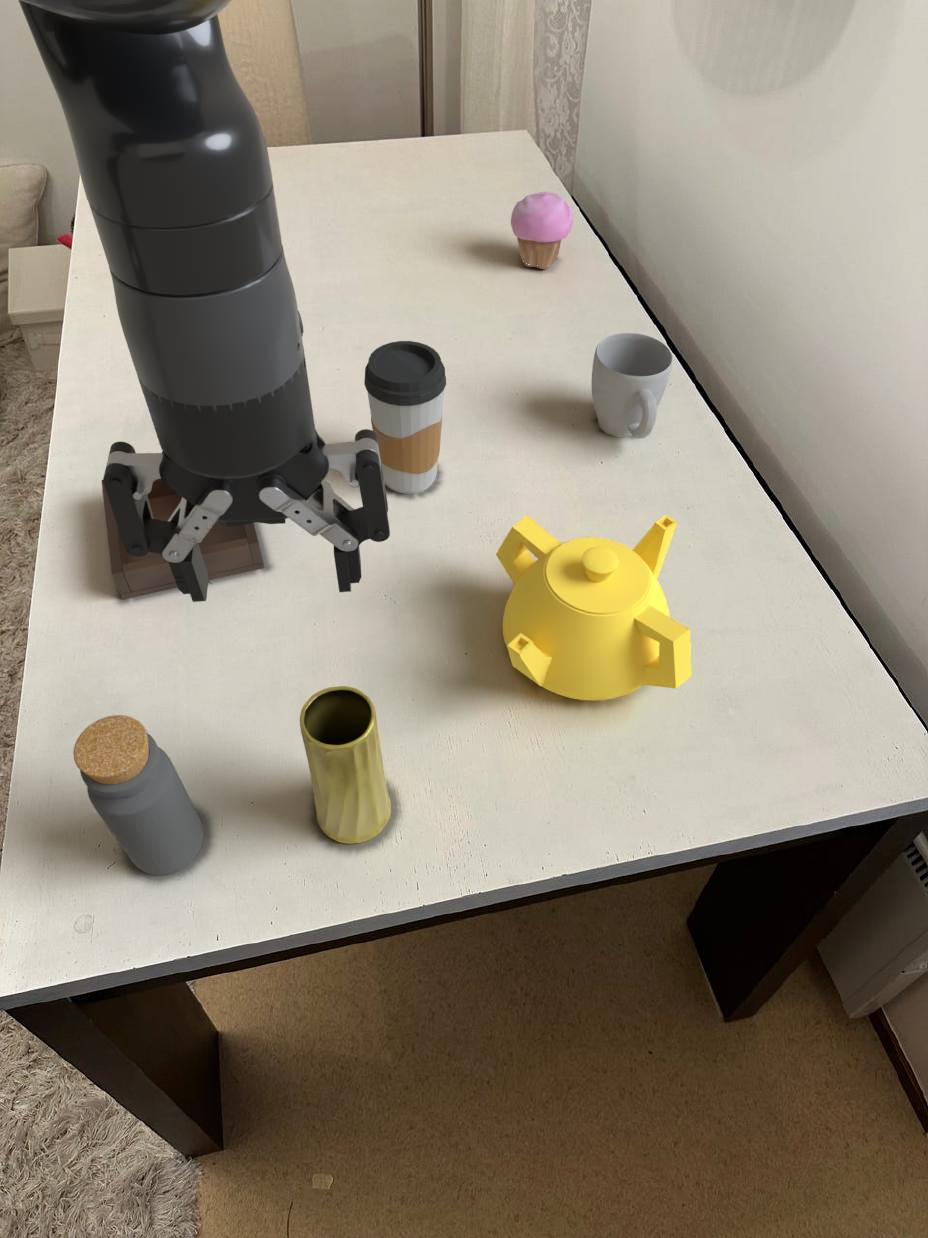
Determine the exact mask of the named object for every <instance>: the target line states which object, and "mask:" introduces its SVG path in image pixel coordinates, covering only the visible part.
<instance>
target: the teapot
mask: <svg viewBox="0 0 928 1238" xmlns="http://www.w3.org/2000/svg"><path fill="white" fill-rule="evenodd" d="M677 526H678V521H676V520H675V519H674V518H673V517H671V516H670V515H668V514H665V515H664V516H662V517H660V518H659V519H657V520H656V521H654V522H653V525H652V526H651V527H650V528H649V530H648V531H646V533H645V534H644V535H643V537H642V538H641V539H640V540H639V542H638V543H637V544H636V545H635V546H634V547H633V549H632V548H630V547H628V546H627V545H624V544H623V543H620V542H618V541H615V540H613V539H609V538H605V537H598V536H583V537H577V538H574V539H573V538H572V539H570V540H568V541H565V542H563V543H562V542H561V541H560V540H559V539H557V538H556V537H554V536H553V535H552V534H551V533H550V532H549V531H547V530H546V529H545V528H543V527H542V526H541V525H540V524H539V523H537V522H536V521H535V520H534V519H533V518H531V517H530V516H529V515H527V514H526V515H524V517H522V518H521V519H520V520H519V521H517V522H516V523H515V524H514V525H513V526H511V528H510V530H509V532H508V533H507V535H506V537H504V540H503V542H502V543H501V544H500V547H499V548H498V550H497V552H496V553H495V556H496V557H497V559H498V561H499V562H500V564H501V565H502V567H503V568H504V570H505V572H506V573H507V575H508V576H509V578H510V580H511V582H512V583H513V584H514V586H513V587H512V590H511V592H510V594H509V597H508V600H507V603H506V605H505V608H504V612H503V617H502V636H503V640H504V644H505V646H506V649H507V651H508V655H509V658H510V662H511V665H512V667H513V668H514V669H516V670H517V671H519V673H521V674H523V675H524V676H525V677H527V678H528V679H529V680H531V681H533V682H534V683H535V684H537V685H538V686H540V687H542V688H544V689H546V690H547V691H549V692H551V693H554V694H557V695H560V696H562V697H566V698H569V699H574V700H580V701H591V702H592V701H606V700H614V699H616V698H621V697H624V696H625V695H628V694H631V693H634V692H635V691H637V690H638V689H640V688H641V687H643V686H649V687H650V686H651V687H658V688H667V689H668V688H669V689H677V688H679V687H680V686H682V685H683V683H685V682H686V681H687V680H689V678H691V677H692V675H693V669H692V668H693V667H692V646H691V629H690V628H689V627H687V626H686V625H684V624H683V623H681V622H679V621H677V620H676V619H674V618H673V617H671V616H670V609H669V606H668V602H667V598H666V595H665V593H664V591H663V589H662V586H661V584H660V582H659V581H658V579H659V576H660V573H661V570H662V568H663V565H664V563H665V562H664V561H665V559H666V557H667V553H668V551H669V548H670V545H671V543H672V540H673V536H674V534H675V532H676V528H677ZM530 552H531V554H532V555H533V556H534V557H536V558H537V560H534V558H533V556H532V555H531V554H530Z"/></svg>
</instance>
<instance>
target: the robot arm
mask: <svg viewBox="0 0 928 1238" xmlns="http://www.w3.org/2000/svg"><path fill="white" fill-rule="evenodd" d="M231 2H232V0H18V3H19V5H20V8H21V11H22V13H23V15H24V18H25V20H26V23H27V25H28V28H29V30H30V33H31V36H32V38H33V41H34V42H35V45H36V48H37V50H38V53H39V55H40V58H41V60H42V63H43V65H44V68H45V69H46V72H47V75H48V77H49V79H50V82H51V83H52V86H53V88H54V90H55V93H56V95H57V98H58V100H59V102H60V105H61V109H62V111H63V115H64V118H65V121H66V124H67V128H68V131H69V133H70V134H69V135H70V138H71V141H72V146H73V150H74V153H75V157H76V161H77V162H76V163H77V167H78V170H79V175H80V179H81V183H82V187H83V190H84V193H85V197H86V201H87V203H88V205H89V209H90V211H91V215H92V217H93V220H94V221H93V222H94V224H95V227H96V230H97V233H98V236H99V239H100V243H101V246H102V249H103V252H104V255H105V258H106V261H107V265H108V269H109V272H110V276H111V280H112V285H113V291H114V298H115V299H114V300H115V306H116V309H117V314H118V319H119V322H120V326H121V330H122V333H123V336H124V339H125V343H126V345H127V348H128V351H129V354H130V358H131V361H132V363H133V366H134V370H135V373H136V376H137V379H138V382H139V385H140V388H141V391H142V394H143V397H144V400H145V402H146V406H147V410H148V412H149V416H150V418H151V422H152V425H153V428H154V431H155V434H156V437H157V440H158V444H159V446H160V448H161V452H136V450H135V447H134V446H133V445H132V444H130V443H128V442H126V441H116V442H114V443H112V444H111V446H110V449H109V453H108V457H107V461H106V465H105V470H104V473H103V478H102V480H103V483H104V486H105V489H106V492H107V495H108V498H109V501H110V504H111V507H112V510H113V513H114V516H115V519H116V522H117V526H118V529H119V532H120V535H121V538H122V541H123V544H124V547H125V550H126V551H127V553H129V554H130V555H132V556H136V557H141V556H145V555H146V554H147V553H148V552H153V553H158V554H160V555H162V556H163V558H164V559H165V560H167V561H168V563H169V565H170V568H171V571H172V574H173V576H174V579H175V582H176V584H177V589H178V591H180V592H181V594H183V595H190V599H191V601H192V603H198V602H206V601H207V597H208V596H207V595H208V588H209V580H208V573H207V570H206V566H205V563H204V560H203V557H202V554H201V551H200V548H199V545H198V543H200V542H201V541H202V540H203V538H204V537H205V536H206V534H207V533H208V532H209V530H210V529H211V528H212V526H213V525H214V524H215V522H216V521H220V522H225V523H226V525H227V527H233V526H243V525H247V524H251V523H254V524H255V523H258V524H265V525H279V524H281V525H283V524H286V520H288V519H289V520H290V521H292V522H294V523H295V524H296V525H298V526H299V527H300V528H301V529H303V530H304V531H305V532H307V533H308V534H310V535H311V536H313V537H317V536H321V537H322V538H323V539H325V540H326V541H328V542H329V543H330V544H332V545H333V556H334V557H333V558H334V566H335V571H336V572H335V573H336V579H337V584H338V585H337V586H338V592H339V593H351V592H352V584H359V583H360V581H361V578H362V560H361V550H360V545H361V544H362V543H363V542H365V541H369V540H371V541H372V542H374V543H375V542H376V543H382V542H385V541H387V540H388V539H389V538H390V536H391V534H390V533H391V531H390V530H391V529H390V523H389V516H388V513H389V504H388V496H387V490H386V484H385V483H384V476H383V470H382V463H381V457H380V450H379V443H378V437H377V434H376V433H375V432H374V431H373V430H372V429H368V428H365V429H364V428H363V429H360V430H359V431H357V432H356V434H355V435H354V440H353V441H346V442H336V443H326V441H325V440H324V439H323V438H322V437H321V436H320V434H319V433H318V432H317V429H316V425H315V424H316V423H315V417H314V411H313V403H312V398H311V390H310V384H309V376H308V369H307V362H306V361H307V360H306V357H305V356H306V354H305V348H304V342H303V336H304V335H303V334H304V325H303V320H302V316H301V313H300V311H299V309H298V308H299V307H298V301H297V295H296V291H295V286H294V283H293V280H292V276H291V273H290V270H289V265H288V262H287V259H286V255H285V251H284V245H283V242H282V234H281V225H280V219H279V214H278V213H279V212H278V207H277V201H276V199H277V198H276V194H275V188H274V180H273V173H272V166H271V161H270V156H269V150H268V147H267V143H266V139H265V136H264V132H263V129H262V126H261V123H260V120H259V118H258V115H257V113H256V111H255V108H254V107H253V105H252V103H251V102H250V100H249V98H248V97H247V95H246V93H245V91H244V89H243V88H242V87H241V84H240V83H239V80H238V79H237V78H236V75H235V72H234V71H233V68H232V66H231V63H230V61H229V58H228V54H227V51H226V47H225V43H224V37H223V34H222V28H221V25H220V24H221V23H220V20H219V13H220V12H222V11H223V10H224V9H225V8H226V7H227V6H228V5H229V4H230V3H231ZM329 470H335V471H337V472H339V473H340V474H341V475H342V477H343V479H344V480H345V481H346V482H348V483H349V485H350V486H351V487H352V488H359V492H360V493H359V494H360V499H361V503H362V506H361V507H357V508H353V507H352V506H351V505H350V504H349V503H347V502H346V501H345V500H344V499H343V498H341V497H340V496H339V495H338V494H337V493H336V492H335V491H334V488H333V486H332V485H331V483H330V482H329V481H328V480H327V479H325V478H326V477H327V475H328V473H329ZM157 479H162V481H163V482H164V483H165V484H166V485H167V486H168V487H169V488H170V489H172V490H173V491H175V492H176V493H177V494H179V495H180V496H182V499H181V502H180V503H179V505H178V506H177V508H176V509H175V511H174V512H173V514H172V515H171V517H170V518H169V520H168V521H164V520H158V519H154V517H153V513H152V510H151V506H150V502H149V499H148V495H147V494H149V493H150V492H151V489H152V484H153V482H154V481H155V480H157Z"/></svg>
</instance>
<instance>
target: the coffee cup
mask: <svg viewBox="0 0 928 1238" xmlns="http://www.w3.org/2000/svg"><path fill="white" fill-rule="evenodd" d="M363 384H364V388H365V390H366V392H367V397H368V404H369V411H370V422H371V430H372V431H374V432H375V433H376V434H377V437H378V443H379V450H380V457H381V463H382V470H383V476H384V483H385V486H386V487H387V488H388V489H390V490H391V491H392V492H396V493H398V494H405V495H414V494H418V493H421V492H424V491H426V490H427V489H428V488H430V487H431V486H432V485H433V483H434V482H435V480H436V478H437V475H438V465H439V456H440V450H441V439H442V438H441V437H442V426H443V405H444V395H445V393H444V391H445V388H446V386H447V376H446V367H445V366H444V363H443V362H442V358H441V356H440V354H439V352H437V351H436V350H435V348H433V347H431V346H430V345H428V344H425V343H422V342H419V341H412V340H397V341H391V342H388V343H385V344H382V345H381V346H378V347H377V348H375V350H373V351H372V352H371V353H370V355H369V357H368V361H367V363H366V365H365V368H364V383H363Z"/></svg>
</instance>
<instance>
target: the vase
mask: <svg viewBox="0 0 928 1238" xmlns="http://www.w3.org/2000/svg"><path fill="white" fill-rule="evenodd" d="M377 721H378V720H377V711H376V708H375V705H374V704H373V701H372V700H371V698H370V697H369V696H368V695H367V694H365V693H364V692H363V691H361V690H360V689H358V688H356V687H352V686H346V685H340V686H339V685H338V686H330V687H326V688H323V689H321V690H318V691H317V692H315V693H314V694H312V695H311V696H310V697H309V698H308V700H307V701H306V702H305V703H304V705H303V706H302V708H301V710H300V714H299V727H300V734H301V738H302V742H303V746H304V750H305V754H306V759H307V765H308V769H309V774H310V780H311V785H312V791H313V797H314V798H313V799H314V805H315V811H316V820H317V823H318V825H319V827H320V829H321V830H322V832H323V833H324V834H325V835H326V836H327V837H329V838H330V839H332V840H333V841H336V842H338V843H341V844H348V845H349V844H358V843H359V844H361V843H365V842H368V841H370V840H372V839H373V838H375V837H376V836H377V835H379V834H380V833H381V832H382V831H383V830H384V828H385V827H386V826H387V824H388V822H389V820H390V817H391V813H392V801H391V798H390V795H389V792H388V785H387V779H386V775H385V767H384V760H383V755H382V748H381V741H380V736H379V729H378V722H377Z"/></svg>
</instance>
